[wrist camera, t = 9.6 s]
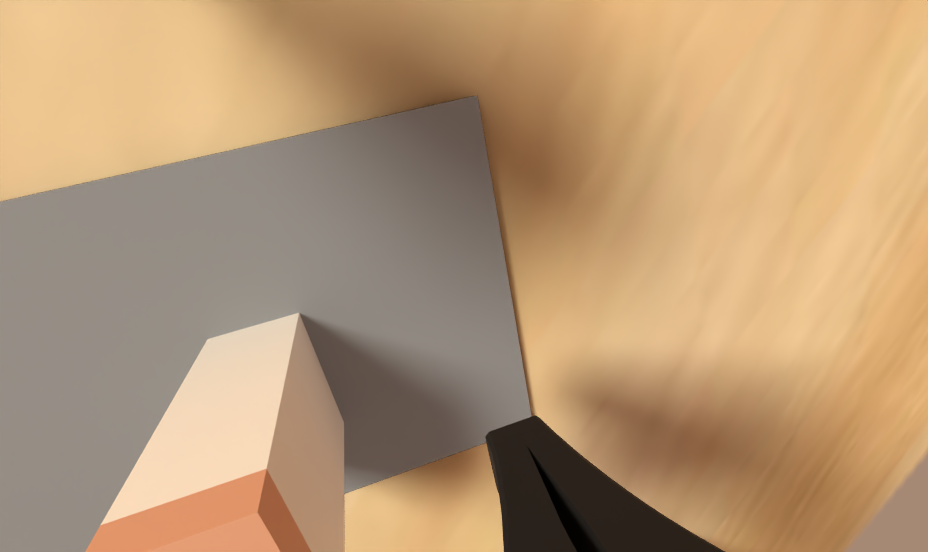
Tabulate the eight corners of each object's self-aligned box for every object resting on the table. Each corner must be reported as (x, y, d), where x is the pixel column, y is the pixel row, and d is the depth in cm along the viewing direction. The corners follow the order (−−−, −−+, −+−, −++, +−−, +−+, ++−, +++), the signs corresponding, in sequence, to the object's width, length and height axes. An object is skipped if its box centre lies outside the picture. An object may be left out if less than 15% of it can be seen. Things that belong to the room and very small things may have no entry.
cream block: (299, 312, 15) (257, 512, 7) (343, 422, 17) (344, 661, 10) (207, 338, 14) (69, 579, 7) (265, 448, 16) (204, 721, 9)
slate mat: (473, 95, 14) (477, 95, 14) (529, 419, 20) (533, 425, 19) (-376, 285, 10) (-401, 292, 10) (-8, 612, 16) (-16, 623, 16)
